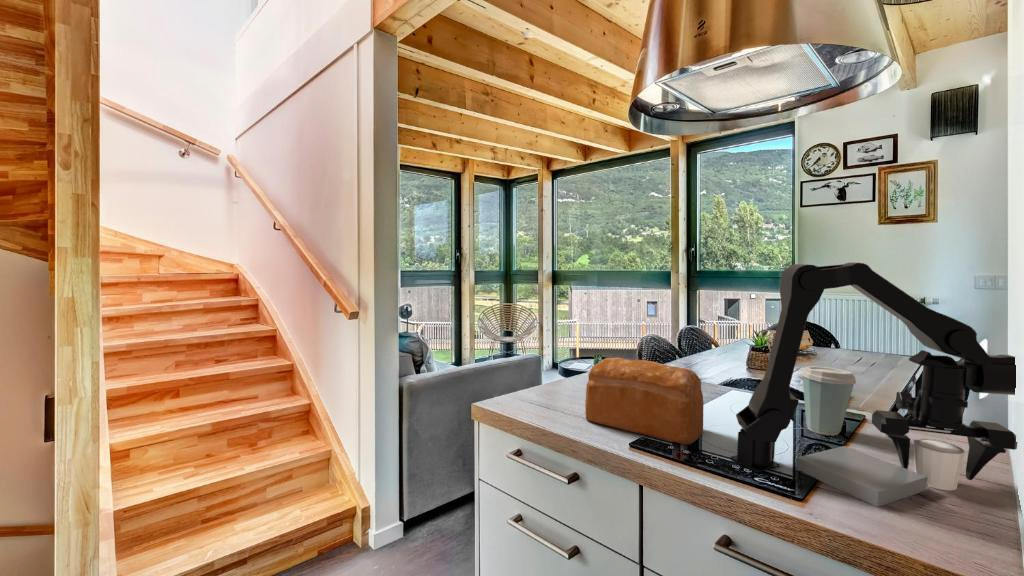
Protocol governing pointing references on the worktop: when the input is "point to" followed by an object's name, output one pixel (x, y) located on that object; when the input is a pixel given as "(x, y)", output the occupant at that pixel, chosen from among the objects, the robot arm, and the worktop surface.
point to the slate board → (862, 475)
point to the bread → (646, 399)
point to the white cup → (938, 462)
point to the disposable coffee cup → (826, 398)
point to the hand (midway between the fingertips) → (936, 474)
